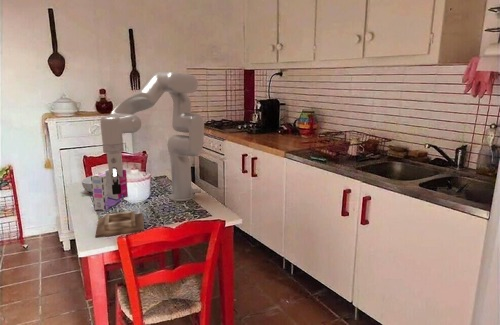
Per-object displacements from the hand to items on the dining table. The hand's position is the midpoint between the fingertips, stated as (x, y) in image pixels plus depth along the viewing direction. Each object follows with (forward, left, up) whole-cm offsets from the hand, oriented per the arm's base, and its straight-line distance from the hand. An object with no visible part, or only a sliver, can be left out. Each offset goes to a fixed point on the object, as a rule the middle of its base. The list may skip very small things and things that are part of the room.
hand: (117, 190), depth 149 cm
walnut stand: (0, 0, -15) cm, 15 cm away
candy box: (+6, -27, -15) cm, 32 cm away
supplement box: (0, 0, -3) cm, 3 cm away
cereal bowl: (+11, -52, -15) cm, 55 cm away
